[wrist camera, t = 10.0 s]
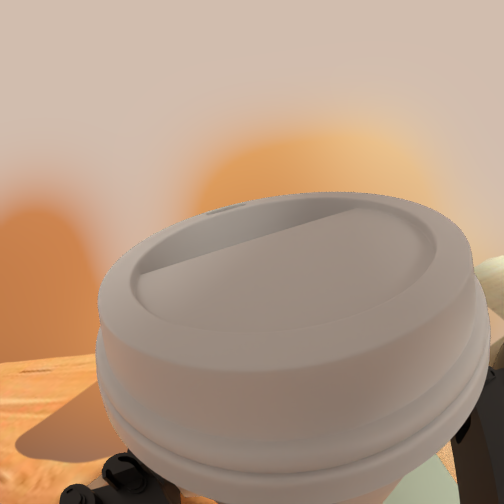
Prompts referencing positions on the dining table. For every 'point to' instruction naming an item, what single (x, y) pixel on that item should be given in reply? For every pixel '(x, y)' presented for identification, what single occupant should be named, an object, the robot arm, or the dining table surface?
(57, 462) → the dining table surface
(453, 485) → the mat
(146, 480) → the robot arm
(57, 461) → the dining table surface
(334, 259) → the coffee cup
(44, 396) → the dining table surface
